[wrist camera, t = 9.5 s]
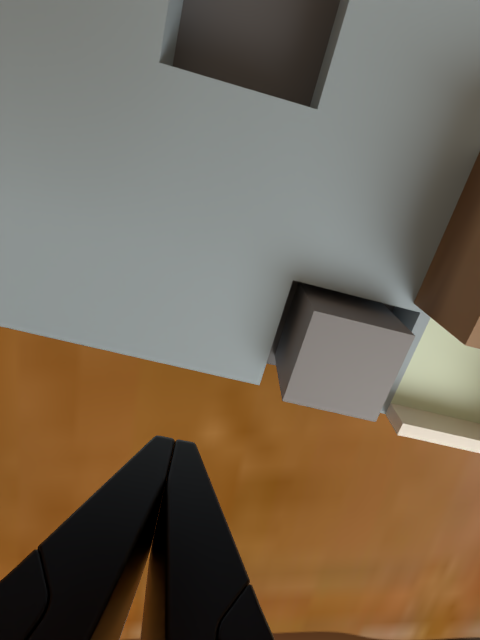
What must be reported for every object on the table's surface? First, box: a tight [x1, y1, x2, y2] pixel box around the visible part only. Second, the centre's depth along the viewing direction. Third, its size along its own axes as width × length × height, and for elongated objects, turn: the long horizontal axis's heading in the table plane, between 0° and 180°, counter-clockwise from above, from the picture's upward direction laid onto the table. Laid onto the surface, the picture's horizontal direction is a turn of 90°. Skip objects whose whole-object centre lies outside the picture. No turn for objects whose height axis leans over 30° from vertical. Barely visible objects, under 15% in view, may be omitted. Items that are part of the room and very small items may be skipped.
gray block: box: [275, 282, 415, 422], centre depth 17 cm, size 4×4×4 cm
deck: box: [0, 0, 480, 453], centre depth 14 cm, size 24×16×6 cm, turn 75°
